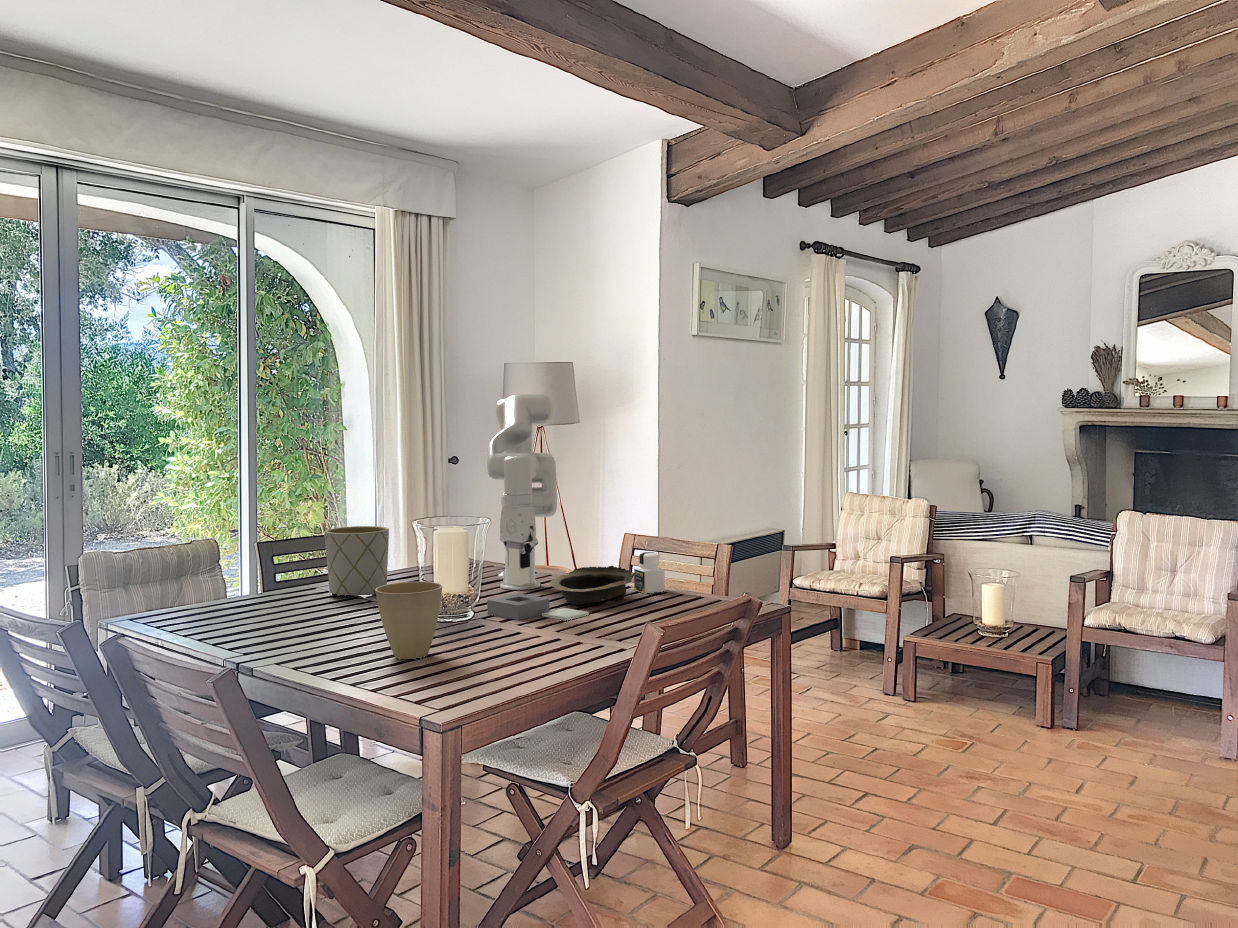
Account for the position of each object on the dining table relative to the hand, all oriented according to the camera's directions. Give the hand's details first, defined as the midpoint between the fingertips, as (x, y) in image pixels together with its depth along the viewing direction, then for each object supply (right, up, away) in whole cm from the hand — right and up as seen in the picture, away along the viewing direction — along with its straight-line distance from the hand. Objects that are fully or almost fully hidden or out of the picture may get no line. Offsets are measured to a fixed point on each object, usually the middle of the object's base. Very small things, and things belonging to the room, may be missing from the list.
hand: (519, 565), depth 266 cm
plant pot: (-20, -16, -45) cm, 52 cm away
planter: (-53, -12, +31) cm, 62 cm away
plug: (0, -5, 0) cm, 5 cm away
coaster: (+13, -13, -3) cm, 19 cm away
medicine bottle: (+37, -11, +32) cm, 50 cm away
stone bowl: (+20, -13, +16) cm, 29 cm away
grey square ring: (0, -13, 0) cm, 13 cm away
